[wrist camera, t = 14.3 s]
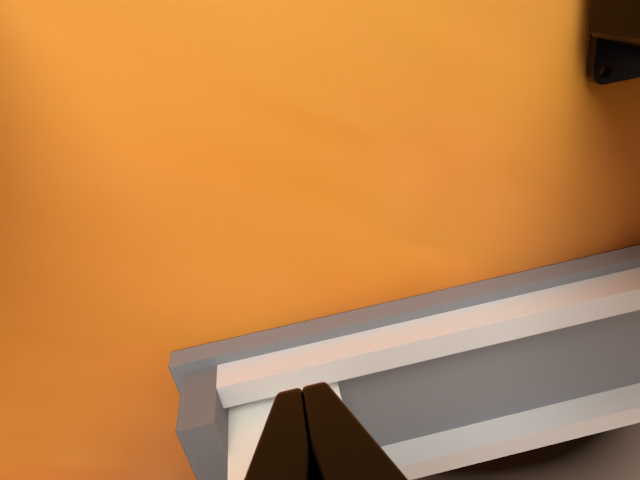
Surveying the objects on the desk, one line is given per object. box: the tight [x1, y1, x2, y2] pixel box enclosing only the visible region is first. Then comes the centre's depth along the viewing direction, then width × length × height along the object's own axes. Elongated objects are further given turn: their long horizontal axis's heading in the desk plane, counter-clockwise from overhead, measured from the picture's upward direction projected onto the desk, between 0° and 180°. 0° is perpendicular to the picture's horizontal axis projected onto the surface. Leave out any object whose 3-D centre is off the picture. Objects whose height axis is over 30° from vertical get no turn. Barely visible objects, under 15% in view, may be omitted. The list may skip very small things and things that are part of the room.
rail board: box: [169, 245, 640, 480], centre depth 23 cm, size 26×10×4 cm, turn 99°
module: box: [227, 382, 342, 480], centre depth 22 cm, size 5×5×5 cm
